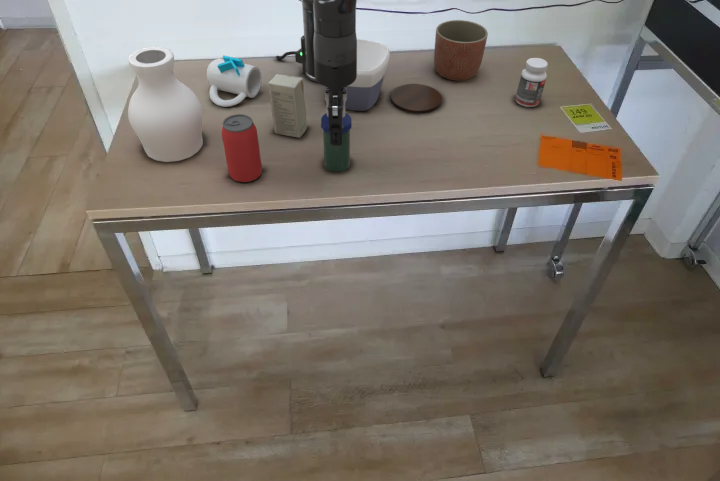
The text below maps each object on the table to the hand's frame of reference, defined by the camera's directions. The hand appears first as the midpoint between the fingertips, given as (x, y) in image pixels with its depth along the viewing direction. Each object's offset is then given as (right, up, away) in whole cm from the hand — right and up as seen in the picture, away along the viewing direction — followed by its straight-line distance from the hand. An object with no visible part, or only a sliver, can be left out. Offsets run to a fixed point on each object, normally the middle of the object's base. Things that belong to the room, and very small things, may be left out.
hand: (336, 134), depth 110 cm
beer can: (-18, -7, +3) cm, 20 cm away
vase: (-35, -1, +9) cm, 36 cm away
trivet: (+18, +13, +23) cm, 32 cm away
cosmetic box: (-11, +3, +13) cm, 17 cm away
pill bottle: (+44, +12, +24) cm, 52 cm away
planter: (+29, +22, +33) cm, 49 cm away
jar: (0, -5, +5) cm, 7 cm away
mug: (-26, +14, +24) cm, 38 cm away
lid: (0, +2, -2) cm, 3 cm away
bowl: (+3, +13, +24) cm, 27 cm away
